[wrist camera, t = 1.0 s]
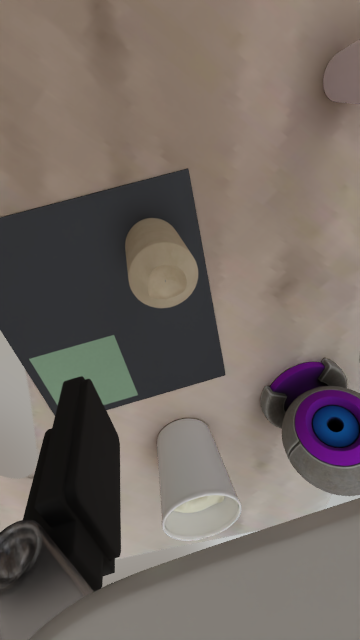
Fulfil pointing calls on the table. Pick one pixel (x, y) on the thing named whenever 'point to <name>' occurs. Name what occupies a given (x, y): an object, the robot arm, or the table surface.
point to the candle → (159, 264)
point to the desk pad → (104, 296)
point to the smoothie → (344, 75)
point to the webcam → (318, 424)
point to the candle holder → (194, 482)
